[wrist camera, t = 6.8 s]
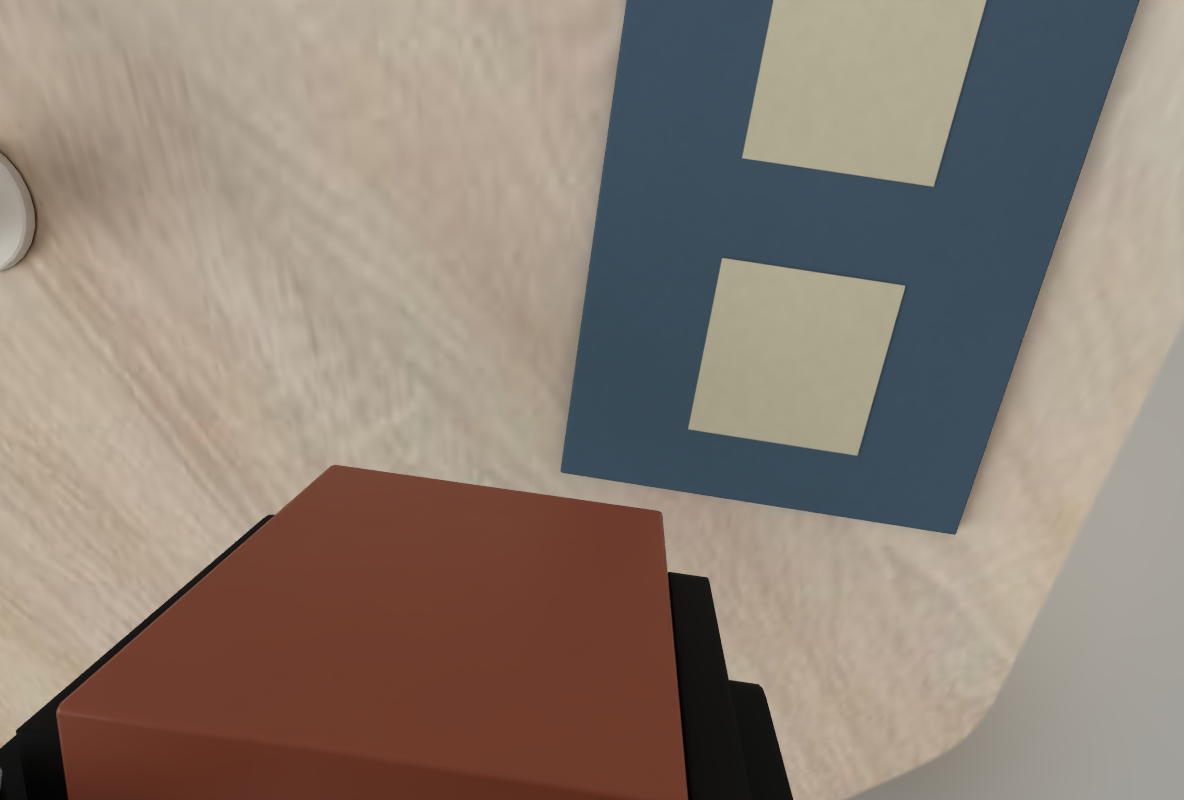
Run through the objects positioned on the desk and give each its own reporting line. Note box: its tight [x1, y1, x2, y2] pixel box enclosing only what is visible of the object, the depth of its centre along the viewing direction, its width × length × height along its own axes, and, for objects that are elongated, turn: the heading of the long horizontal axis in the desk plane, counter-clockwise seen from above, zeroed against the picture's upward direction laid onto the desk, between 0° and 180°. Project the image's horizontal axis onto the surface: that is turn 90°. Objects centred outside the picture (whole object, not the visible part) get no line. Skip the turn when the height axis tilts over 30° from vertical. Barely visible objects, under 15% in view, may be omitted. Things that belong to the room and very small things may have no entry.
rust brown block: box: [56, 465, 688, 800], centre depth 7 cm, size 4×4×5 cm
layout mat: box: [561, 0, 1139, 534], centre depth 23 cm, size 16×22×1 cm
